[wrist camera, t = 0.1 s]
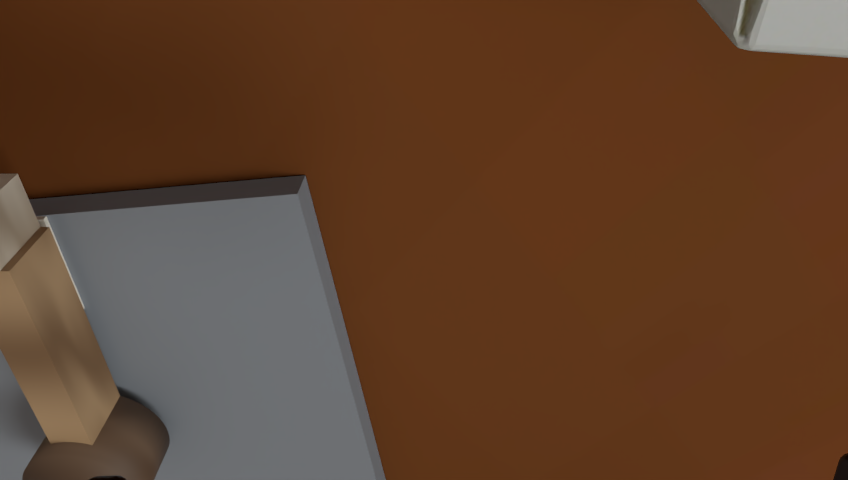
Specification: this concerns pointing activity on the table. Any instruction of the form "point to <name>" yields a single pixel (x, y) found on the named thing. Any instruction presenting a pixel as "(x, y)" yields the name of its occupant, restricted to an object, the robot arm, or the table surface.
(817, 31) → the ink box
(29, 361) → the peg lever
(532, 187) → the table surface
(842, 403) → the table surface
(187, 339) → the board
